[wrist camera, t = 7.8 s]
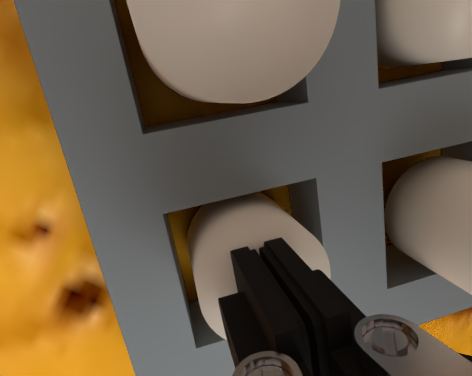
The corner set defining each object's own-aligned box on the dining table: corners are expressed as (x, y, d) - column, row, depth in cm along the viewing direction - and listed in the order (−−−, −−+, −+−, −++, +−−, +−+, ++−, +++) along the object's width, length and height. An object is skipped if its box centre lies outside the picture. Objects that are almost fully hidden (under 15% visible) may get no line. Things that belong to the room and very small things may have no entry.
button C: (266, -60, 10) (331, -155, 6) (284, 90, 11) (348, 84, 8) (118, -44, 9) (92, -143, 6) (155, 113, 11) (154, 121, 7)
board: (493, -140, 13) (585, -205, 10) (475, 257, 18) (533, 286, 16) (9, -109, 10) (-48, -189, 7) (150, 358, 15) (148, 416, 13)
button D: (279, 178, 14) (324, 206, 10) (291, 269, 15) (335, 323, 12) (176, 202, 13) (184, 242, 10) (198, 295, 15) (213, 363, 11)
